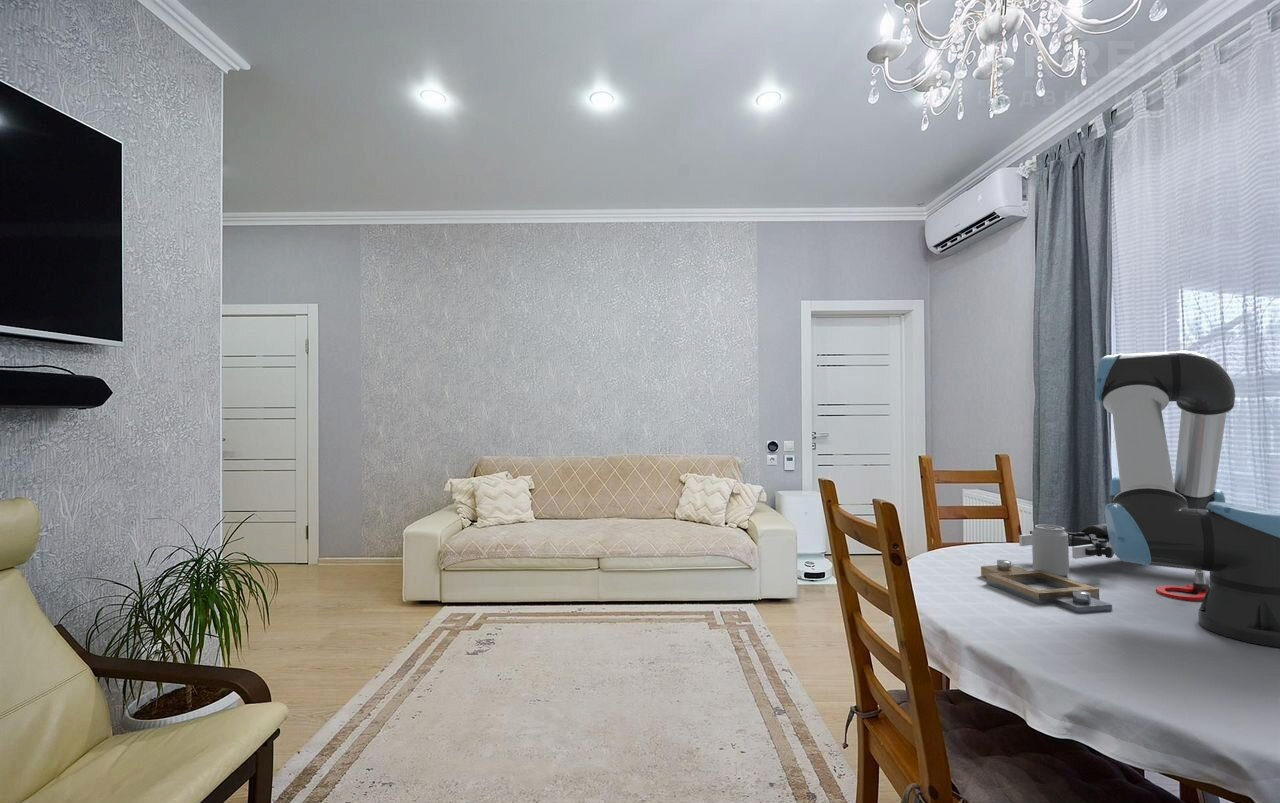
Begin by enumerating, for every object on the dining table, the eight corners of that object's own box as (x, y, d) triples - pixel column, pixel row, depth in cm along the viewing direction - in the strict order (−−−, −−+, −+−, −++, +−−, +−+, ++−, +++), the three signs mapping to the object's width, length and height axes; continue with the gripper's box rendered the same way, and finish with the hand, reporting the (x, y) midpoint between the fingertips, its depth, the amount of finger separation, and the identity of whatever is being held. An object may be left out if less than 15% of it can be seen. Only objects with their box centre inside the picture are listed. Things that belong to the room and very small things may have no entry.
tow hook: (1178, 603, 123) (1223, 601, 123) (1173, 543, 124) (1218, 541, 123) (1146, 591, 132) (1188, 589, 131) (1141, 535, 132) (1183, 533, 132)
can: (1067, 571, 146) (1066, 524, 146) (1070, 579, 140) (1069, 530, 140) (1032, 568, 150) (1030, 522, 150) (1033, 575, 144) (1032, 527, 144)
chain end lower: (1126, 609, 119) (1126, 594, 119) (1063, 614, 117) (1063, 599, 117) (1041, 579, 140) (1041, 567, 140) (986, 583, 138) (986, 571, 138)
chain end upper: (1099, 599, 125) (1098, 580, 125) (1038, 604, 123) (1038, 585, 123) (1021, 572, 146) (1021, 556, 146) (968, 576, 144) (968, 559, 144)
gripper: (1160, 565, 140) (1099, 574, 133) (1057, 543, 164) (1001, 550, 157) (1159, 534, 140) (1098, 542, 133) (1056, 516, 164) (1000, 522, 157)
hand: (1046, 546), depth 145 cm, fingers open, 13 cm apart
